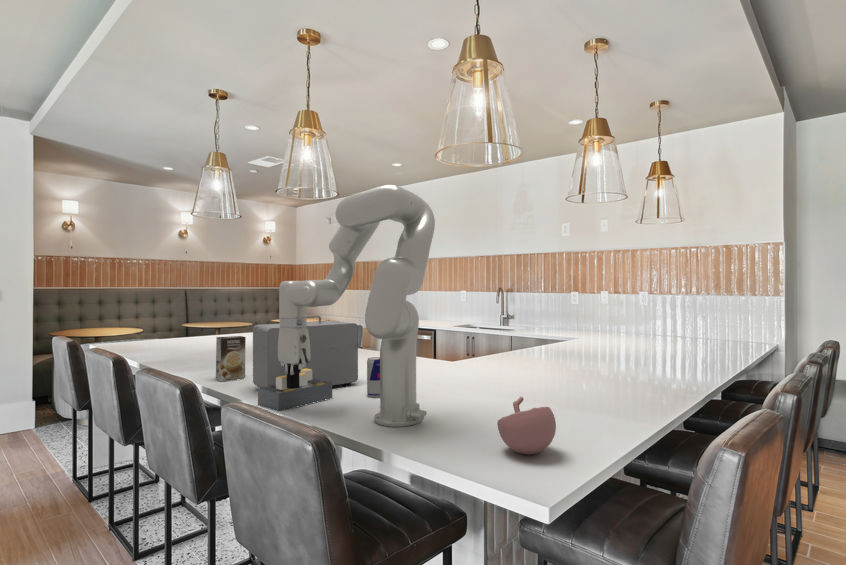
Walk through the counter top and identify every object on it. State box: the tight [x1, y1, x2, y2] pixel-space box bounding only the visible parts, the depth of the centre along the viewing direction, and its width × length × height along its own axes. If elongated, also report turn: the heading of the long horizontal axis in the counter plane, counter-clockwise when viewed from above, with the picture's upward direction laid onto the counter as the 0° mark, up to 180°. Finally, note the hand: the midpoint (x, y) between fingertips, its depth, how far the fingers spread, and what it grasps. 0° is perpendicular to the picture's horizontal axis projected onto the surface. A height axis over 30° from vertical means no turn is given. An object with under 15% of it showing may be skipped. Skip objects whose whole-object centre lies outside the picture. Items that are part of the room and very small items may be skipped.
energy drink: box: [366, 356, 380, 399], centre depth 149 cm, size 5×5×12 cm
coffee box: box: [215, 335, 246, 383], centre depth 177 cm, size 9×6×16 cm
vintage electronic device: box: [252, 314, 359, 388], centre depth 163 cm, size 32×18×25 cm, turn 126°
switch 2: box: [301, 368, 312, 381], centre depth 148 cm, size 3×3×3 cm
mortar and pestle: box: [496, 396, 557, 455], centre depth 98 cm, size 12×12×12 cm
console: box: [257, 379, 333, 412], centre depth 142 cm, size 11×19×5 cm, turn 140°
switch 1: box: [276, 375, 289, 390], centre depth 137 cm, size 3×3×3 cm
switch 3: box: [299, 373, 308, 387], centre depth 141 cm, size 3×3×3 cm
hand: (293, 387), depth 134 cm, fingers closed
